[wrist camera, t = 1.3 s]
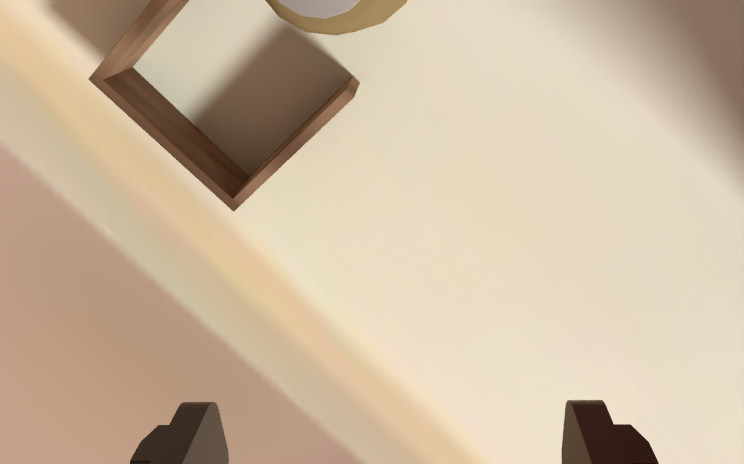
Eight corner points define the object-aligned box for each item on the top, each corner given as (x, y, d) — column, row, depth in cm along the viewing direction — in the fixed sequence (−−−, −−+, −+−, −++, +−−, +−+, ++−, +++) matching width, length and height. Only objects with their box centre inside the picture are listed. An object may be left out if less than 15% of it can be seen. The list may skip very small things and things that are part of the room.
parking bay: (225, -61, 34) (203, -62, 31) (359, 82, 37) (353, 97, 34) (119, 66, 38) (88, 79, 34) (249, 188, 41) (233, 211, 37)
